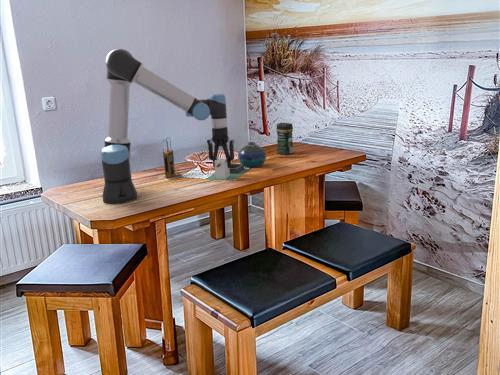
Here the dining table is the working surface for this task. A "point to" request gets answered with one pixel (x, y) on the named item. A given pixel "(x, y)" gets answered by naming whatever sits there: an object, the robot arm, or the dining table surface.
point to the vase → (252, 155)
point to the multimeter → (169, 162)
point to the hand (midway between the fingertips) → (222, 173)
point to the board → (231, 172)
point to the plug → (221, 168)
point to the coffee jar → (284, 138)
